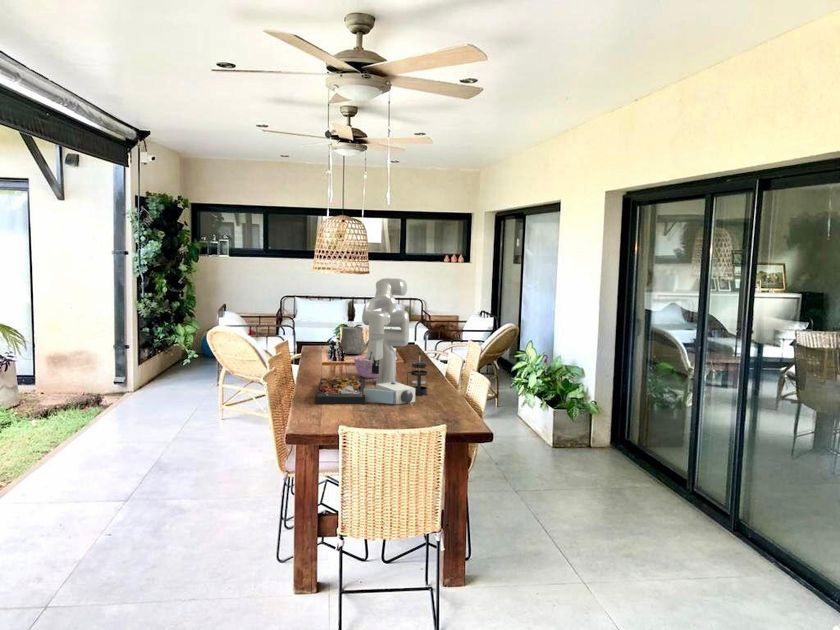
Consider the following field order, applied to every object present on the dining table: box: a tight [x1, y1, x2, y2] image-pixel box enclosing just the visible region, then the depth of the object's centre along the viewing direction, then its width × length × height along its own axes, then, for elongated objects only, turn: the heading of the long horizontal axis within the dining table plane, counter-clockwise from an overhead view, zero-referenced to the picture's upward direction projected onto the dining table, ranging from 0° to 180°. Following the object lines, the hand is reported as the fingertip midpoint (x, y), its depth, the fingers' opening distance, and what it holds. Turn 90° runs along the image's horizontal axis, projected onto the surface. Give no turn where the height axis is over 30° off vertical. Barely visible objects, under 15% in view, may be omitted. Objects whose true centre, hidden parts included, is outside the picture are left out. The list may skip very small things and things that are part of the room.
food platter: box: [314, 375, 366, 406], centre depth 332 cm, size 45×25×10 cm, turn 5°
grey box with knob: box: [375, 381, 416, 406], centre depth 323 cm, size 20×12×8 cm, turn 37°
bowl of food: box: [353, 355, 379, 379], centre depth 380 cm, size 20×20×12 cm
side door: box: [363, 388, 397, 405], centre depth 313 cm, size 17×2×6 cm, turn 72°
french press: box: [406, 350, 429, 397], centre depth 337 cm, size 12×9×23 cm
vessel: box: [339, 326, 369, 355], centre depth 462 cm, size 22×22×20 cm
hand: (375, 373), depth 316 cm, fingers closed
